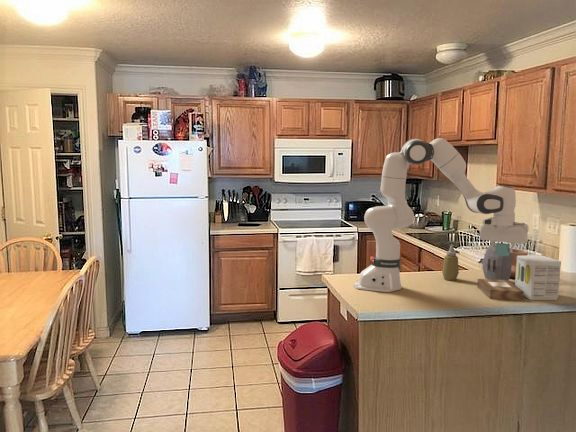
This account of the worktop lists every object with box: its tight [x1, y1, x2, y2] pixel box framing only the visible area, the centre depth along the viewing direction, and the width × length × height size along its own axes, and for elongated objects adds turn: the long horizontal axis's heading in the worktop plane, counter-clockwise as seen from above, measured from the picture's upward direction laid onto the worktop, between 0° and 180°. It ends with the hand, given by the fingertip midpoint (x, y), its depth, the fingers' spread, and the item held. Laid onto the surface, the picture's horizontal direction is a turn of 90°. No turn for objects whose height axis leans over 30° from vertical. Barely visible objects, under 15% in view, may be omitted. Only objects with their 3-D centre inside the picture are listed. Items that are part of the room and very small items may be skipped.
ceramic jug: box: [510, 248, 529, 279], centre depth 250 cm, size 18×14×14 cm
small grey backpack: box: [482, 242, 512, 281], centre depth 238 cm, size 15×8×20 cm, turn 27°
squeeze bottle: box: [441, 244, 460, 281], centre depth 241 cm, size 8×8×18 cm
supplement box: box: [514, 255, 562, 301], centre depth 213 cm, size 13×13×18 cm
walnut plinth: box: [476, 278, 524, 301], centre depth 217 cm, size 14×20×4 cm
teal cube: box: [495, 242, 511, 256], centre depth 215 cm, size 5×5×5 cm
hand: (502, 251), depth 215 cm, fingers closed on teal cube, 5 cm apart
